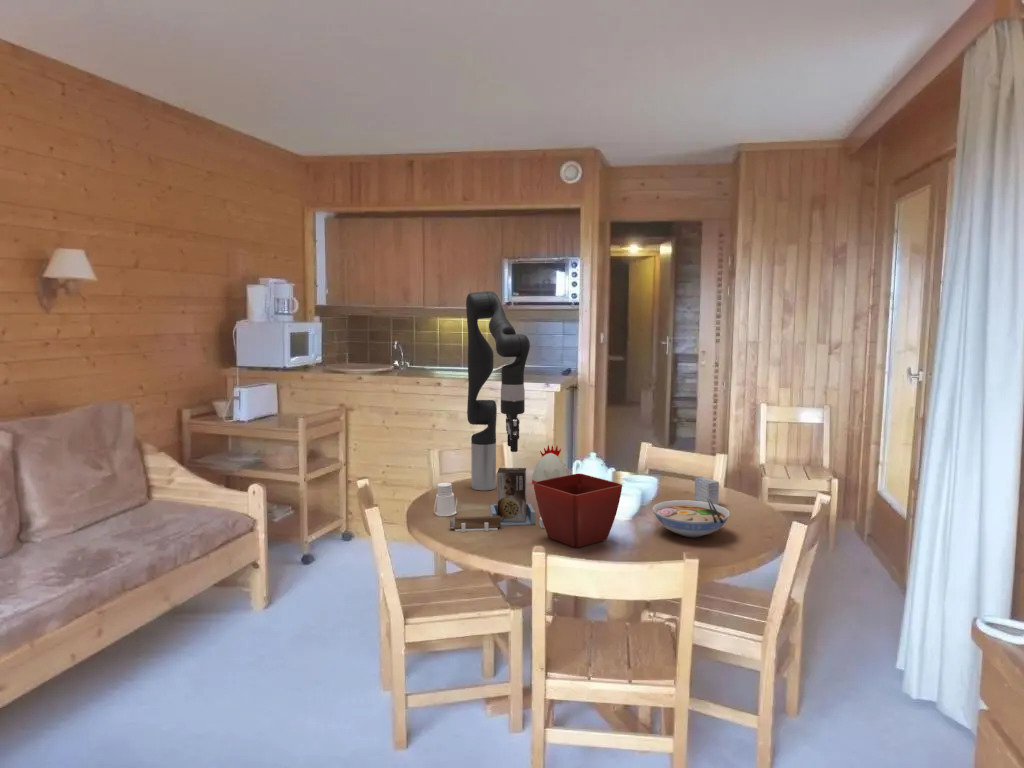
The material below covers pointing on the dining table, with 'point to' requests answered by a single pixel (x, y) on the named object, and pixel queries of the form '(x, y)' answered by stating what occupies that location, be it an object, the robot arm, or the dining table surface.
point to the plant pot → (577, 508)
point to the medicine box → (706, 490)
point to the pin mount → (488, 528)
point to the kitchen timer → (549, 466)
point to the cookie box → (511, 494)
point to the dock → (529, 521)
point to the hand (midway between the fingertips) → (512, 448)
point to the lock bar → (476, 522)
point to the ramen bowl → (691, 517)
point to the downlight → (445, 500)
